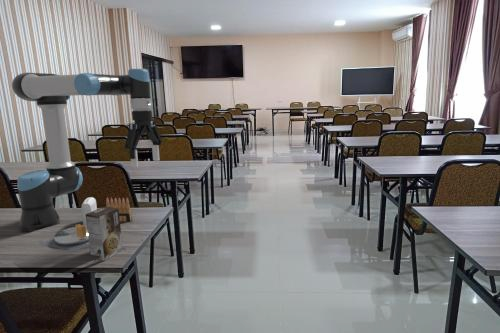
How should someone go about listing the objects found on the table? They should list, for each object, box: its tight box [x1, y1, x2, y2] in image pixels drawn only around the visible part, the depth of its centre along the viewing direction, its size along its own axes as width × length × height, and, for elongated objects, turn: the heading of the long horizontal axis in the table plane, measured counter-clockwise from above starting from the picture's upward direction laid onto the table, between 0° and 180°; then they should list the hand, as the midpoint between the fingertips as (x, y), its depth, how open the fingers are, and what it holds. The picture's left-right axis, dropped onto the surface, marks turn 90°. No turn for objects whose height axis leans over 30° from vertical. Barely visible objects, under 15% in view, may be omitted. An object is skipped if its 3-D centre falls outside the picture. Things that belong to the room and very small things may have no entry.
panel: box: [38, 237, 90, 252], centre depth 131 cm, size 18×17×2 cm
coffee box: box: [86, 205, 124, 262], centre depth 119 cm, size 9×6×16 cm
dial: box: [53, 223, 89, 246], centre depth 130 cm, size 14×14×6 cm
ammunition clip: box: [106, 197, 133, 224], centre depth 148 cm, size 11×2×12 cm, turn 85°
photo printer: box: [80, 196, 98, 226], centre depth 146 cm, size 10×4×12 cm, turn 11°
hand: (146, 163), depth 137 cm, fingers open, 13 cm apart
